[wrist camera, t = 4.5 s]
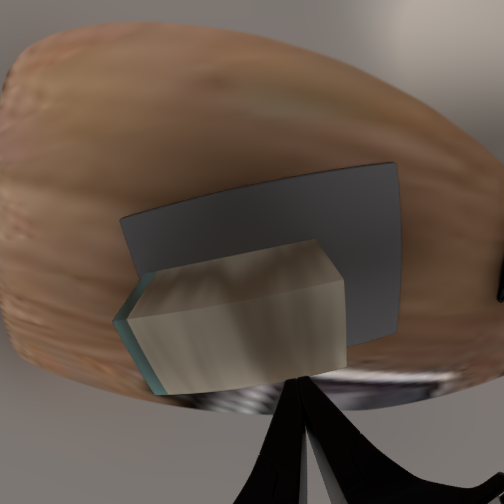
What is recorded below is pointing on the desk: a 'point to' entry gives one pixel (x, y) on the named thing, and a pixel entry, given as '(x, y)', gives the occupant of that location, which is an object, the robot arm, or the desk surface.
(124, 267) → the desk surface
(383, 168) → the mat
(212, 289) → the ash block
